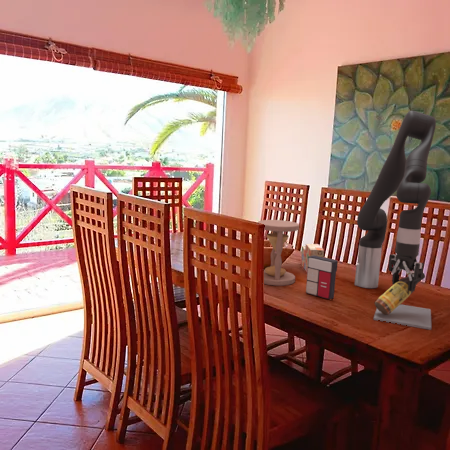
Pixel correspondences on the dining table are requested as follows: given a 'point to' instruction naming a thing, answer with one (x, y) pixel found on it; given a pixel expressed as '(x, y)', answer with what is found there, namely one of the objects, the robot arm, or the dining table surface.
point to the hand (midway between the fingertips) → (402, 287)
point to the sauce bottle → (395, 295)
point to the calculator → (321, 276)
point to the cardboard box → (310, 253)
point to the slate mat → (407, 316)
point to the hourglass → (278, 251)
